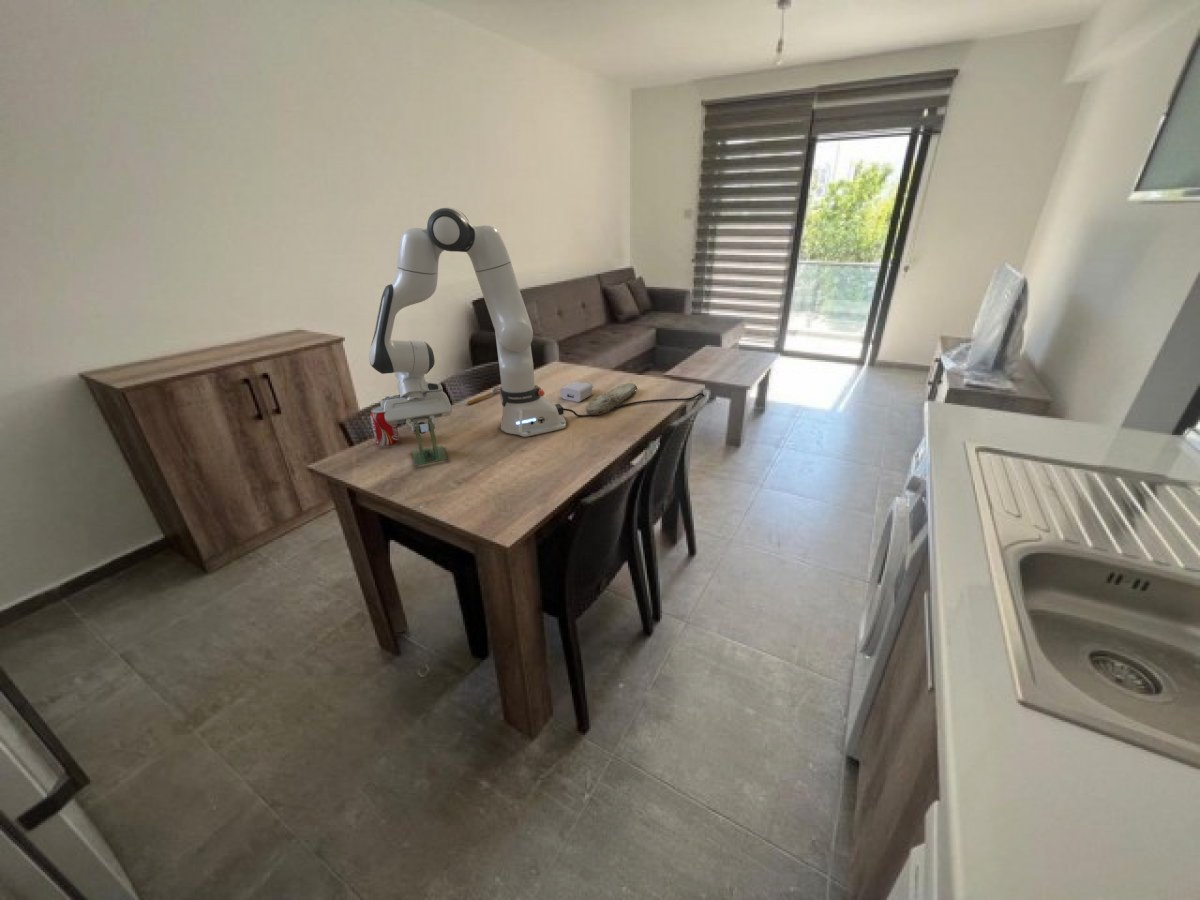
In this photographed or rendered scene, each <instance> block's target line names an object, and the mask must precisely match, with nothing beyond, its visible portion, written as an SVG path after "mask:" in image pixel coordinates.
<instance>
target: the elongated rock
mask: <svg viewBox="0 0 1200 900" xmlns="http://www.w3.org/2000/svg"><path fill="white" fill-rule="evenodd" d="M635 390H636V391H635ZM637 390H638V386H637V385H636V384H635V383H633V382H632V383H631V382H630V383H629V382H628V383H623V384H619V385H618V386H617V387H614V388H612V389H610V390H609V391H607V392H605V393H602V394H598V395H597V396H596V397H595V398H593V399H592V400H591V401H590V402H589V403H588V404H587V405H586V407H585V412H586V415H589V414H590V415H593V416H600V415H603V414H606V413H608V412H611V411H613V410H615V409H613V408H614V407H616V406H620V405H621V403H622V402H623V401H626V400H627V399H628V398H629V397H631V396H632V395H633V394H634V393H636V392H637ZM632 393H633V394H632ZM631 394H632V395H631ZM624 399H625V400H624ZM618 403H619V404H618ZM611 408H612V409H613V410H611ZM597 414H598V415H597Z"/></svg>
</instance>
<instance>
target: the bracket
mask: <svg viewBox="0 0 1200 900" xmlns="http://www.w3.org/2000/svg"><path fill="white" fill-rule="evenodd" d="M412 423H413V431H414V432H415V433H416V434H415V437H416V438H415V439H416V443H417V447H418V449H414V450H411V454H412V458H413V462H414V465H415V466H422V465H426V464H432V463H436V462H441V461H446V460H448V457H447V455H446V452H445V450H444V448H443V445H437V439H436V438H437V437H436V433H435V429H436V426H435V425H436V424H435V423H434V424H433V422H432V420H431V418H430V419H427V424H428V425H429V431H428V432H429V436H430V442H431V446H430V447H425V448H424V447H423V443H422V437H421V433H420V431H419V426H418V423H419V422H418V421H413V422H412Z"/></svg>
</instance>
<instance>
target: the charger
mask: <svg viewBox="0 0 1200 900" xmlns="http://www.w3.org/2000/svg"><path fill="white" fill-rule="evenodd" d="M593 388H594V385H593V383H589V382H580V381H572V382H570V383H568V384H567V385H564V386H563V387H561V388H560V397H561V399H563V400H566V401H572V402H575V403H576V402H577V403H580V402H581V401H582V402H583V400H585V399H587V398H588V397H590V396H592V395H593Z"/></svg>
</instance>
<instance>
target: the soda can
mask: <svg viewBox="0 0 1200 900" xmlns="http://www.w3.org/2000/svg"><path fill="white" fill-rule="evenodd" d="M385 412H386V411H384V409H382V408H381V405H378V406H375V407H373V408H371V409H370V414H369V417H370V423H371V428H372V432H373V437H374V439H375V442H376V445H378V446H381V447H385V446H392V445H394V444H397V443H398V442H399V441H400V435H399V430H398V424H394V425H391V424H388V423H387V422H386V421H385V416H384V413H385Z"/></svg>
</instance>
